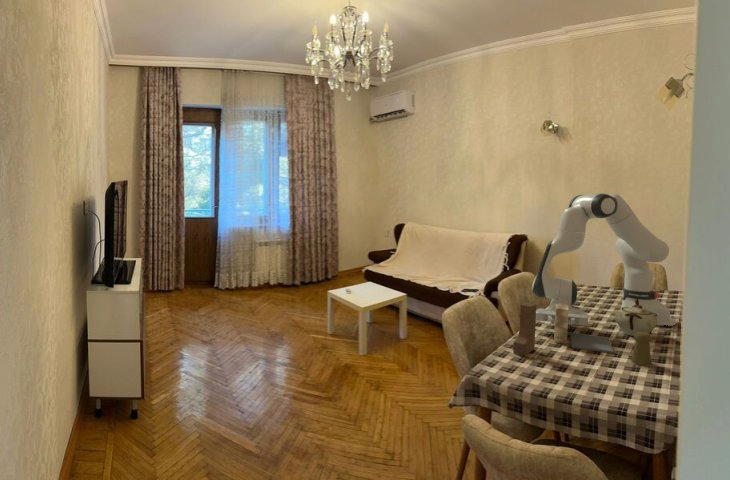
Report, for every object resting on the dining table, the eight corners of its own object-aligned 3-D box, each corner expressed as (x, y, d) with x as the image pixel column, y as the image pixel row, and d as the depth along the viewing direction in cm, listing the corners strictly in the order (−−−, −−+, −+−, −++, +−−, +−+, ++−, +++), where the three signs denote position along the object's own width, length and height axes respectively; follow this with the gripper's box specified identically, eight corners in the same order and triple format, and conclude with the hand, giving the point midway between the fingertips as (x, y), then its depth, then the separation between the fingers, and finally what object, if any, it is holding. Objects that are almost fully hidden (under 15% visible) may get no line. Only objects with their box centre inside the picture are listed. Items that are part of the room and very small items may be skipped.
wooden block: (524, 356, 158) (526, 309, 156) (512, 352, 162) (514, 306, 159) (534, 349, 165) (536, 304, 162) (523, 346, 168) (525, 302, 165)
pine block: (566, 338, 177) (567, 305, 175) (566, 343, 170) (568, 309, 168) (554, 336, 178) (555, 304, 177) (554, 342, 172) (556, 308, 170)
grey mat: (608, 339, 175) (608, 337, 175) (613, 353, 160) (613, 351, 160) (570, 334, 180) (570, 332, 180) (571, 347, 166) (572, 346, 166)
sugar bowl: (620, 324, 193) (622, 292, 191) (659, 331, 183) (662, 297, 181) (608, 335, 179) (611, 301, 177) (651, 344, 169) (654, 307, 167)
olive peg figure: (627, 359, 155) (629, 330, 153) (642, 358, 155) (645, 329, 154) (639, 366, 149) (641, 336, 147) (655, 365, 149) (657, 335, 148)
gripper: (535, 303, 189) (534, 312, 177) (587, 308, 181) (589, 317, 169) (534, 317, 190) (533, 326, 177) (586, 322, 182) (588, 333, 169)
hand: (561, 322), depth 173 cm, fingers open, 5 cm apart
